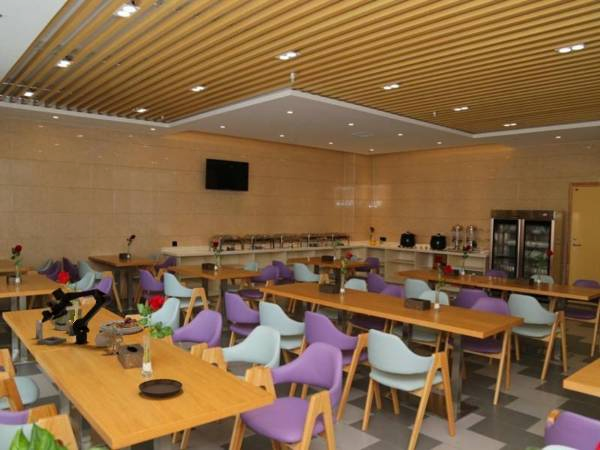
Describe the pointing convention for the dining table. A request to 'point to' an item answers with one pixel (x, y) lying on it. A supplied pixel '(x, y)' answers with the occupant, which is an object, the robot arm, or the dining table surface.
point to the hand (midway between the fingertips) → (47, 321)
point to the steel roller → (39, 329)
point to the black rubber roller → (71, 331)
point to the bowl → (122, 326)
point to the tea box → (67, 318)
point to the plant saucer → (160, 387)
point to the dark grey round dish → (51, 341)
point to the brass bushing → (68, 326)
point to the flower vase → (109, 339)
